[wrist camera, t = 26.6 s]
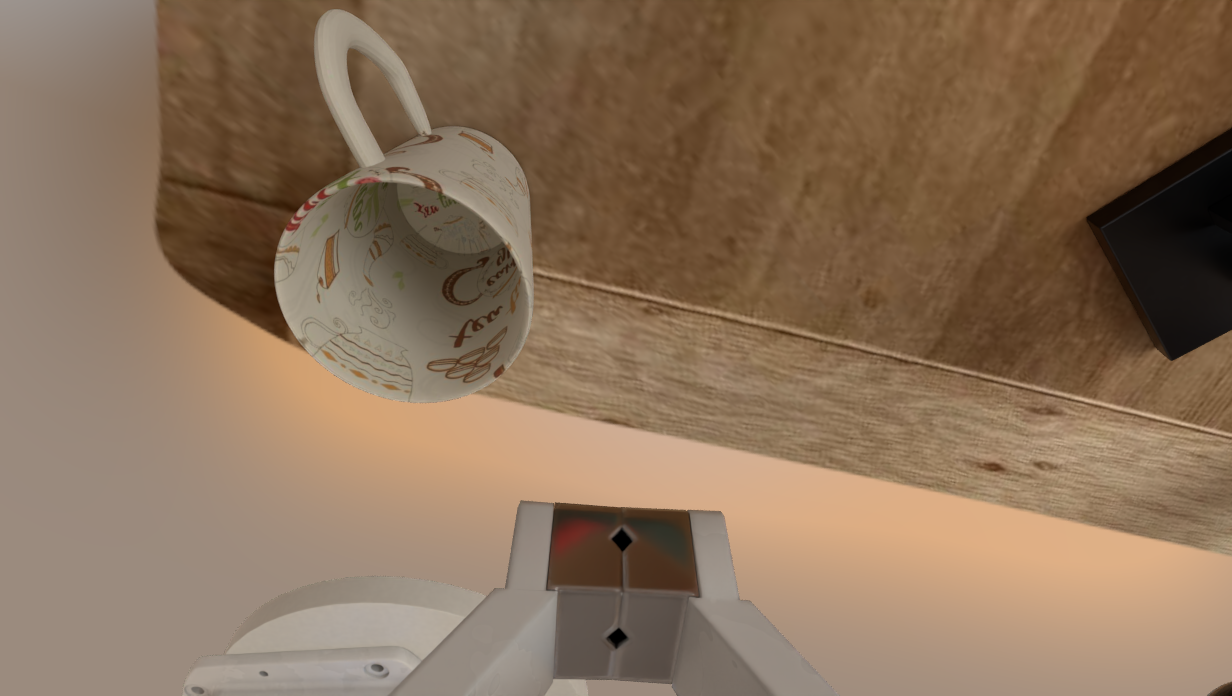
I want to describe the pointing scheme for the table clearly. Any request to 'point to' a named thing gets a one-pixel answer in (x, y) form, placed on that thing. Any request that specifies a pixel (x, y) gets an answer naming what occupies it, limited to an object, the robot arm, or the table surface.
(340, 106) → the mug
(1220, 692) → the lever
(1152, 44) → the table surface
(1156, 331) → the bracket
